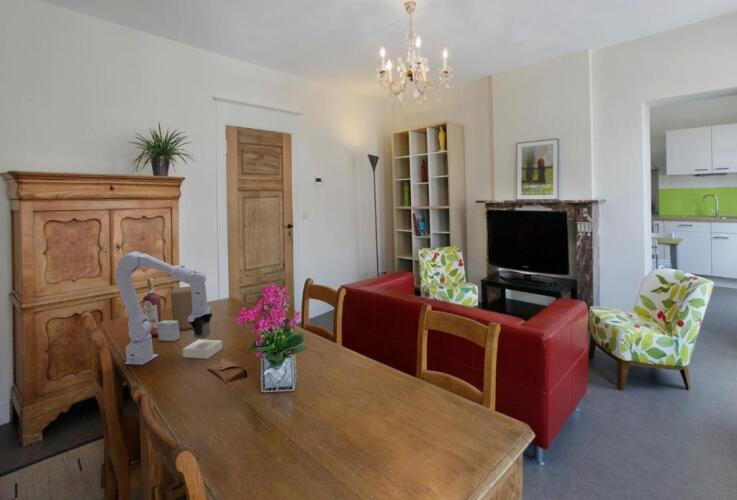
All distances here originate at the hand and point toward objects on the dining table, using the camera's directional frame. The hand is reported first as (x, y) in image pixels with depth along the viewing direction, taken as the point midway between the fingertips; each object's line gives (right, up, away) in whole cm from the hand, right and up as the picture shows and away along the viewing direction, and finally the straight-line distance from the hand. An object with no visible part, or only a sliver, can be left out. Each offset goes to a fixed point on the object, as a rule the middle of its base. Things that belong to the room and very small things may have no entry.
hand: (201, 333), depth 164 cm
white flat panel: (0, -9, +1) cm, 9 cm away
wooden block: (-24, -5, +36) cm, 43 cm away
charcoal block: (0, -1, 0) cm, 1 cm away
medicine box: (-23, -7, +18) cm, 30 cm away
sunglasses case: (+17, -12, -18) cm, 28 cm away
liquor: (-33, -6, +24) cm, 41 cm away
